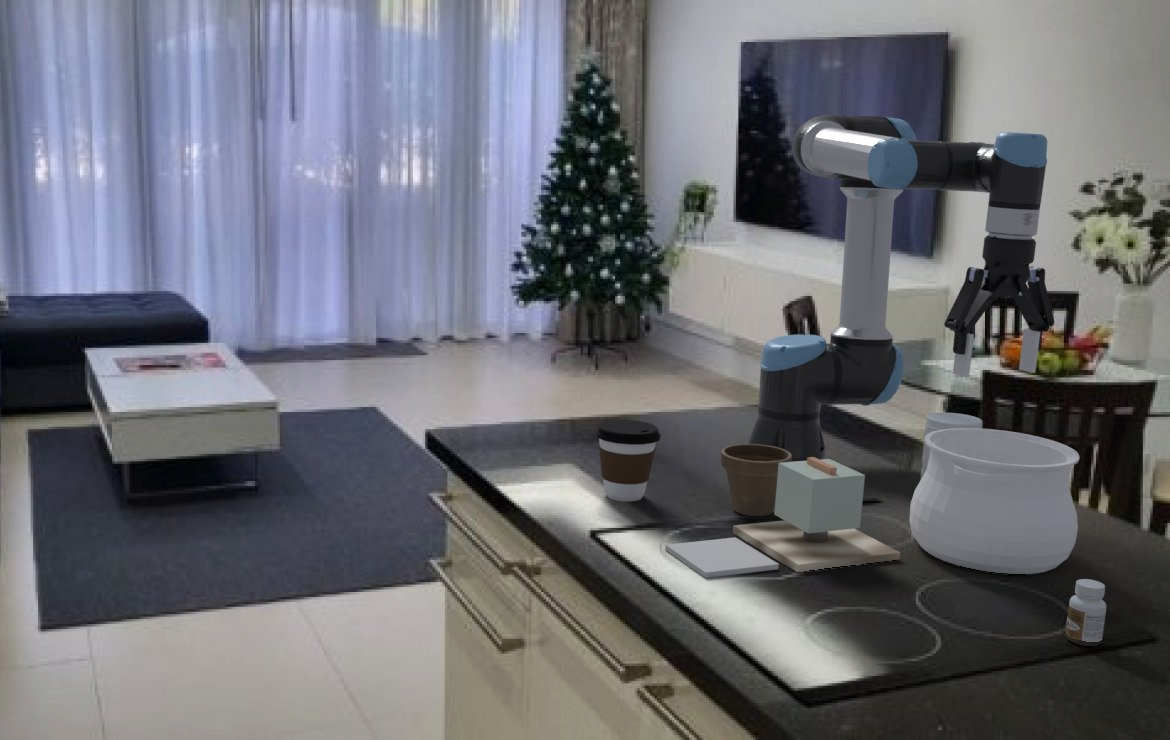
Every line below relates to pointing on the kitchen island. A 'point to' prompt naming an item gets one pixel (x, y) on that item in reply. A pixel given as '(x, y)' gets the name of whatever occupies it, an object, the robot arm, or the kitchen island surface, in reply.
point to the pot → (996, 501)
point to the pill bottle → (1087, 611)
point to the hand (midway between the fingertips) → (994, 373)
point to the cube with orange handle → (819, 495)
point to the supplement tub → (946, 422)
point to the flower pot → (753, 476)
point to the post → (814, 546)
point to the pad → (721, 557)
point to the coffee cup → (626, 457)
